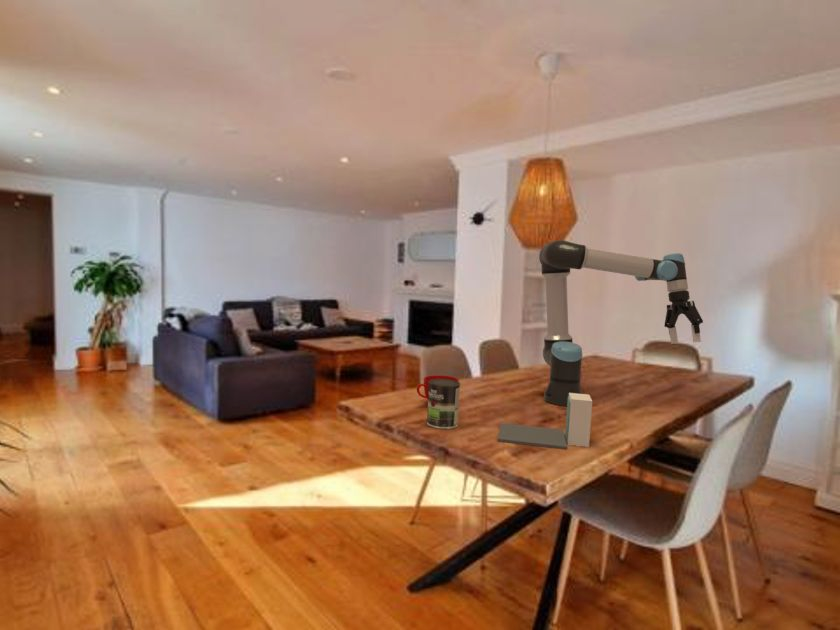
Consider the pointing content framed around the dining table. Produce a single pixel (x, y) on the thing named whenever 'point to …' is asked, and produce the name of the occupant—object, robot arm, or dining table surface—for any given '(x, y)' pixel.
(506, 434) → the charcoal mat
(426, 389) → the ceramic cup
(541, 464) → the dining table surface
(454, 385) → the coffee can
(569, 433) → the cream block
